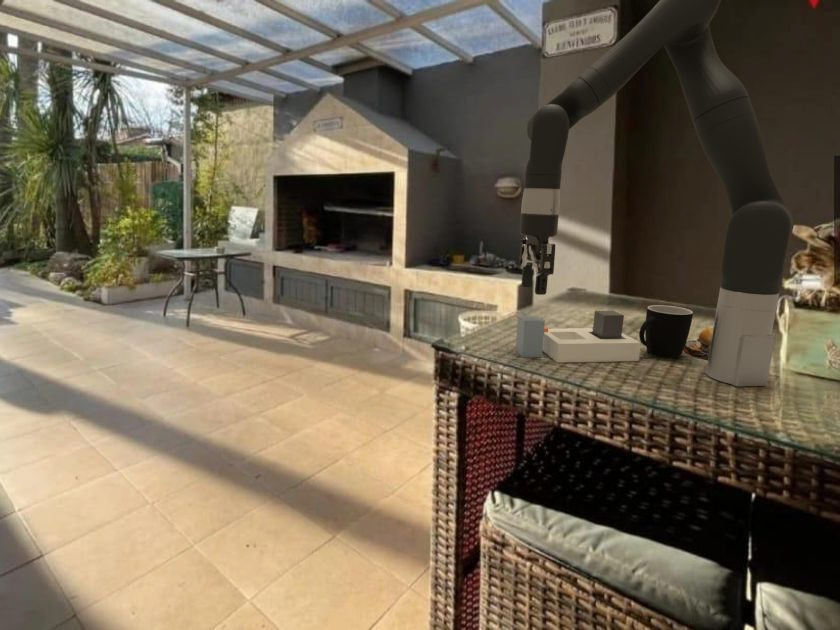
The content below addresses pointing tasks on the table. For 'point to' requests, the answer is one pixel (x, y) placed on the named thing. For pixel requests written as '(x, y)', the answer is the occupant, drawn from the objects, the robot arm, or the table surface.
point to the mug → (666, 330)
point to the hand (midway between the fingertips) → (533, 290)
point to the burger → (700, 345)
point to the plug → (530, 336)
